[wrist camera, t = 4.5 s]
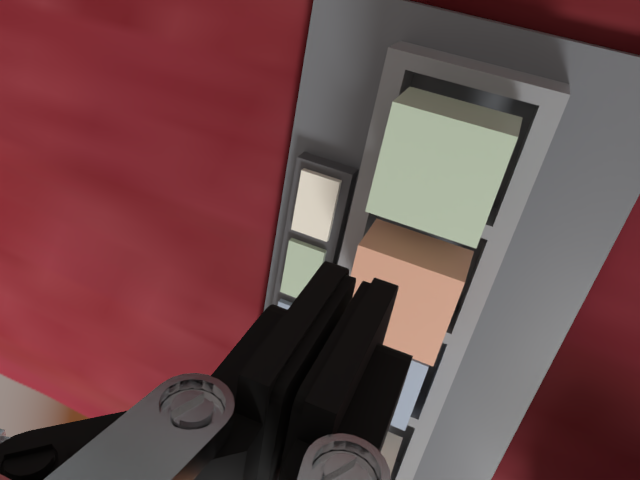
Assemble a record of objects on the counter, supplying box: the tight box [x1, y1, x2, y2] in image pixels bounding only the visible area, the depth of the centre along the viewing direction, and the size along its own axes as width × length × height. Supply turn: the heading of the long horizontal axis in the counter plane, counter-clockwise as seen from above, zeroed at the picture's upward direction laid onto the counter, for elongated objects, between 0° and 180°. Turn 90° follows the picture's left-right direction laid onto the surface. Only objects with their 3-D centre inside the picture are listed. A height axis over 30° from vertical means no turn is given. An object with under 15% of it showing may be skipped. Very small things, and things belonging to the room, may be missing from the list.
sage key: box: [365, 87, 523, 248], centre depth 19 cm, size 4×4×2 cm
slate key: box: [390, 359, 429, 431], centre depth 26 cm, size 4×4×2 cm
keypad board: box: [264, 0, 640, 480], centre depth 26 cm, size 14×25×2 cm, turn 170°
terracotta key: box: [351, 219, 474, 366], centre depth 22 cm, size 4×4×2 cm
